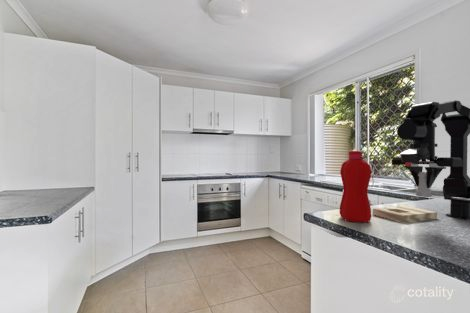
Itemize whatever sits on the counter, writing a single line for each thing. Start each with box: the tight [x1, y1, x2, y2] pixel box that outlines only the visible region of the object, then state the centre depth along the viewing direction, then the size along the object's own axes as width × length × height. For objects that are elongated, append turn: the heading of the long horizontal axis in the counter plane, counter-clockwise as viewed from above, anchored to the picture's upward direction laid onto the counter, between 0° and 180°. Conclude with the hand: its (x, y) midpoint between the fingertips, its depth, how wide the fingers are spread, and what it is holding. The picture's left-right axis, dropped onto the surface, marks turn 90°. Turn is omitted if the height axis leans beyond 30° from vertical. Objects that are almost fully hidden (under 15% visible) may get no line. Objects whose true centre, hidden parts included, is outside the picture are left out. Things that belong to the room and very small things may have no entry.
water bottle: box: [339, 150, 375, 223], centre depth 86 cm, size 9×11×25 cm
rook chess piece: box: [415, 171, 433, 198], centre depth 79 cm, size 4×4×8 cm
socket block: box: [371, 205, 438, 224], centre depth 91 cm, size 18×12×2 cm, turn 109°
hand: (423, 187), depth 79 cm, fingers closed on rook chess piece, 3 cm apart
